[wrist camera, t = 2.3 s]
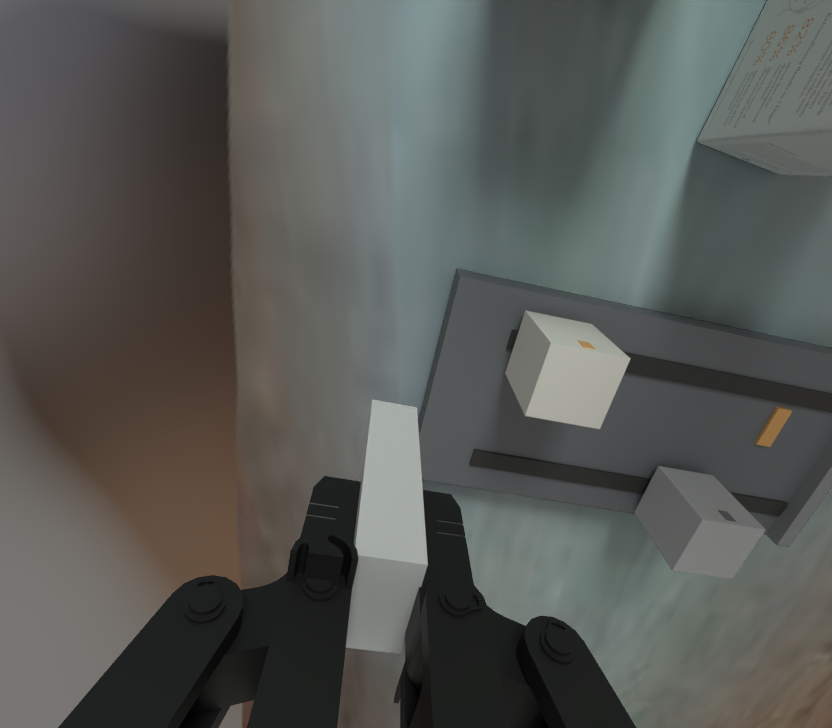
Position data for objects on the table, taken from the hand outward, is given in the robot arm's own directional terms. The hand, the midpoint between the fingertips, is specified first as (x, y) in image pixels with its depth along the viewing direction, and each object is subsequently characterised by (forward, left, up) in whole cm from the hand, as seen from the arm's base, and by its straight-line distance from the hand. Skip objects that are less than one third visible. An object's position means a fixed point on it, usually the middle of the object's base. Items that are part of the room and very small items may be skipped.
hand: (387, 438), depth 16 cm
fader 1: (0, +9, -12) cm, 15 cm away
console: (+4, +17, -14) cm, 23 cm away
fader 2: (+8, +21, -12) cm, 26 cm away
